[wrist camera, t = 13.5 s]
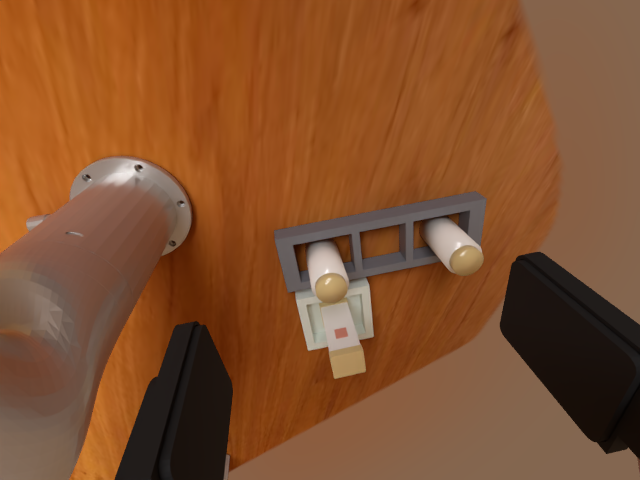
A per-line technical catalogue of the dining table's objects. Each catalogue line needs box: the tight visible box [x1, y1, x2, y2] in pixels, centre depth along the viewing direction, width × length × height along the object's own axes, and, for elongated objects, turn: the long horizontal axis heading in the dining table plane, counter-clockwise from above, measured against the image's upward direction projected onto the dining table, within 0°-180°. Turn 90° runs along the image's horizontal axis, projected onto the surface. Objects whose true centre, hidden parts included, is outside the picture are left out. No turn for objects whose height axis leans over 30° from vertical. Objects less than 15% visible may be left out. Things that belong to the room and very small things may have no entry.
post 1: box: [305, 238, 349, 303], centre depth 41 cm, size 4×4×9 cm
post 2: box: [419, 215, 484, 276], centre depth 41 cm, size 4×4×9 cm
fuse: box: [319, 297, 366, 379], centre depth 45 cm, size 4×4×10 cm
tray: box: [295, 277, 374, 351], centre depth 49 cm, size 10×10×2 cm
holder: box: [274, 191, 486, 292], centre depth 44 cm, size 27×8×2 cm, turn 98°
